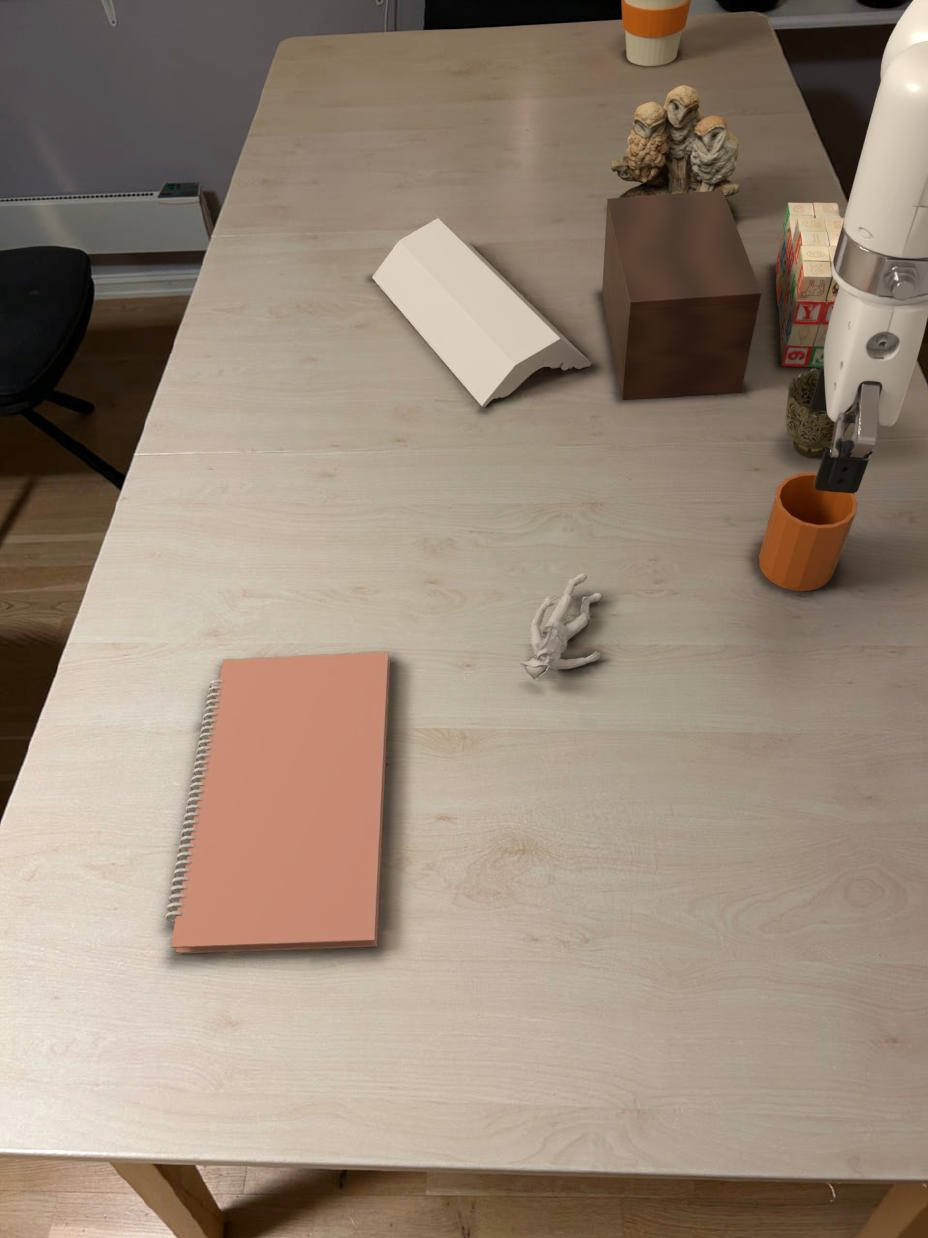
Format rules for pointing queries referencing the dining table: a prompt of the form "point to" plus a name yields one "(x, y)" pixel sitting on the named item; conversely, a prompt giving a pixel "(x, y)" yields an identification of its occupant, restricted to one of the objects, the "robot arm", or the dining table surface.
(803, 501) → the cup
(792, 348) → the stack of blocks
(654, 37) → the reusable coffee cup
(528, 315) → the molding piece
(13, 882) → the dining table surface
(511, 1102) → the dining table surface
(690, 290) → the dark brown wooden block
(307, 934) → the notebook
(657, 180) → the owl figurine
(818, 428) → the cup
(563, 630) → the grey humanoid figurine
